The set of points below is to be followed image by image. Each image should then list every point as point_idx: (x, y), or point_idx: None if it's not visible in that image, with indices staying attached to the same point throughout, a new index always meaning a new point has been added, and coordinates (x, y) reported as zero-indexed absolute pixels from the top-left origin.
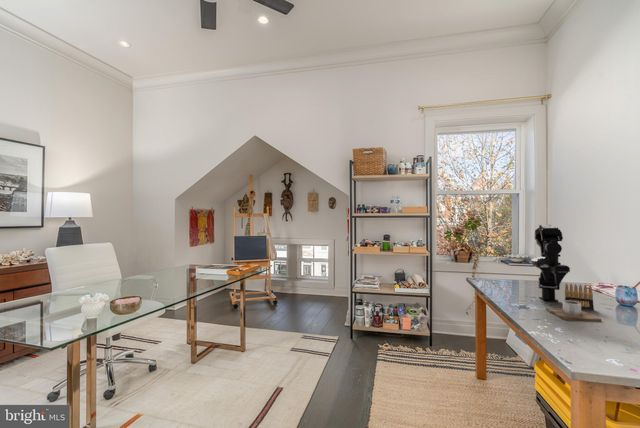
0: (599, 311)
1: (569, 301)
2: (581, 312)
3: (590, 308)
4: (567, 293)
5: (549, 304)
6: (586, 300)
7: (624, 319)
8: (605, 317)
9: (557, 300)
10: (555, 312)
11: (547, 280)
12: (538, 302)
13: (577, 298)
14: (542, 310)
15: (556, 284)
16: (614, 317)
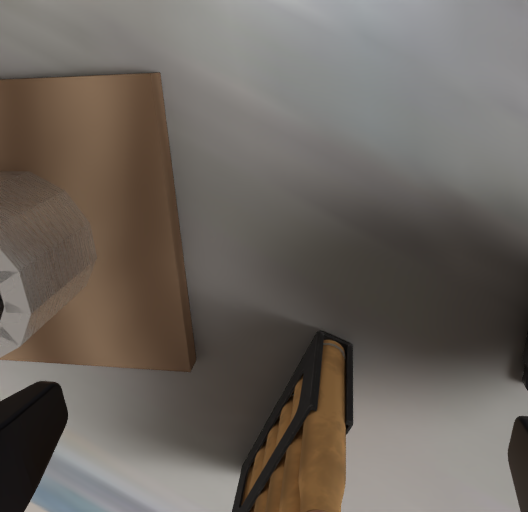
0: (222, 482)
1: (5, 299)
2: (85, 330)
3: (247, 464)
4: (300, 459)
5: (407, 233)
6: (243, 509)
7: (69, 492)
8: (77, 426)
9: (525, 380)
10: (4, 93)
11: (513, 460)
12: (501, 149)
13: (265, 475)
14: (141, 20)
15: (33, 385)
16: (95, 472)
